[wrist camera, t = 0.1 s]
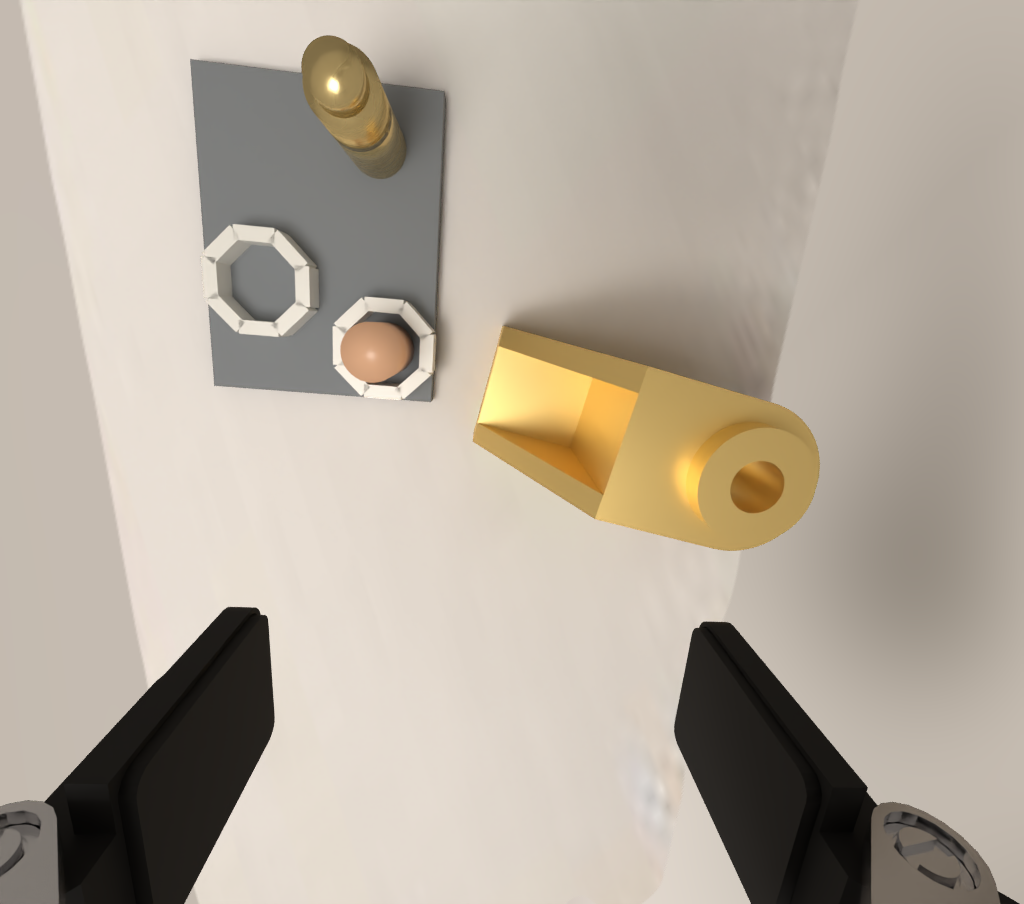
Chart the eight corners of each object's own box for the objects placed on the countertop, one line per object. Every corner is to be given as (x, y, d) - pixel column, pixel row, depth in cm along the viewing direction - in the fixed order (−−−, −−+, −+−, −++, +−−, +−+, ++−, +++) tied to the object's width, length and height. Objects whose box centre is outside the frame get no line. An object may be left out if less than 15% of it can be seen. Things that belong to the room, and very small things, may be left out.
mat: (200, 68, 33) (190, 59, 32) (445, 99, 34) (443, 91, 33) (222, 383, 38) (214, 385, 37) (432, 399, 40) (430, 402, 39)
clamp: (723, 391, 41) (866, 430, 26) (685, 488, 43) (796, 578, 28) (502, 325, 39) (514, 325, 23) (473, 432, 41) (466, 496, 25)
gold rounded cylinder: (349, 112, 33) (289, 17, 23) (407, 119, 33) (373, 29, 23) (349, 175, 34) (292, 112, 24) (405, 181, 34) (372, 121, 24)
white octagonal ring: (214, 226, 34) (197, 220, 32) (318, 236, 35) (308, 231, 33) (221, 330, 36) (206, 330, 34) (319, 338, 37) (310, 339, 35)
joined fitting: (340, 295, 36) (312, 289, 30) (437, 304, 37) (428, 300, 31) (340, 391, 38) (315, 403, 32) (433, 398, 39) (424, 411, 33)
